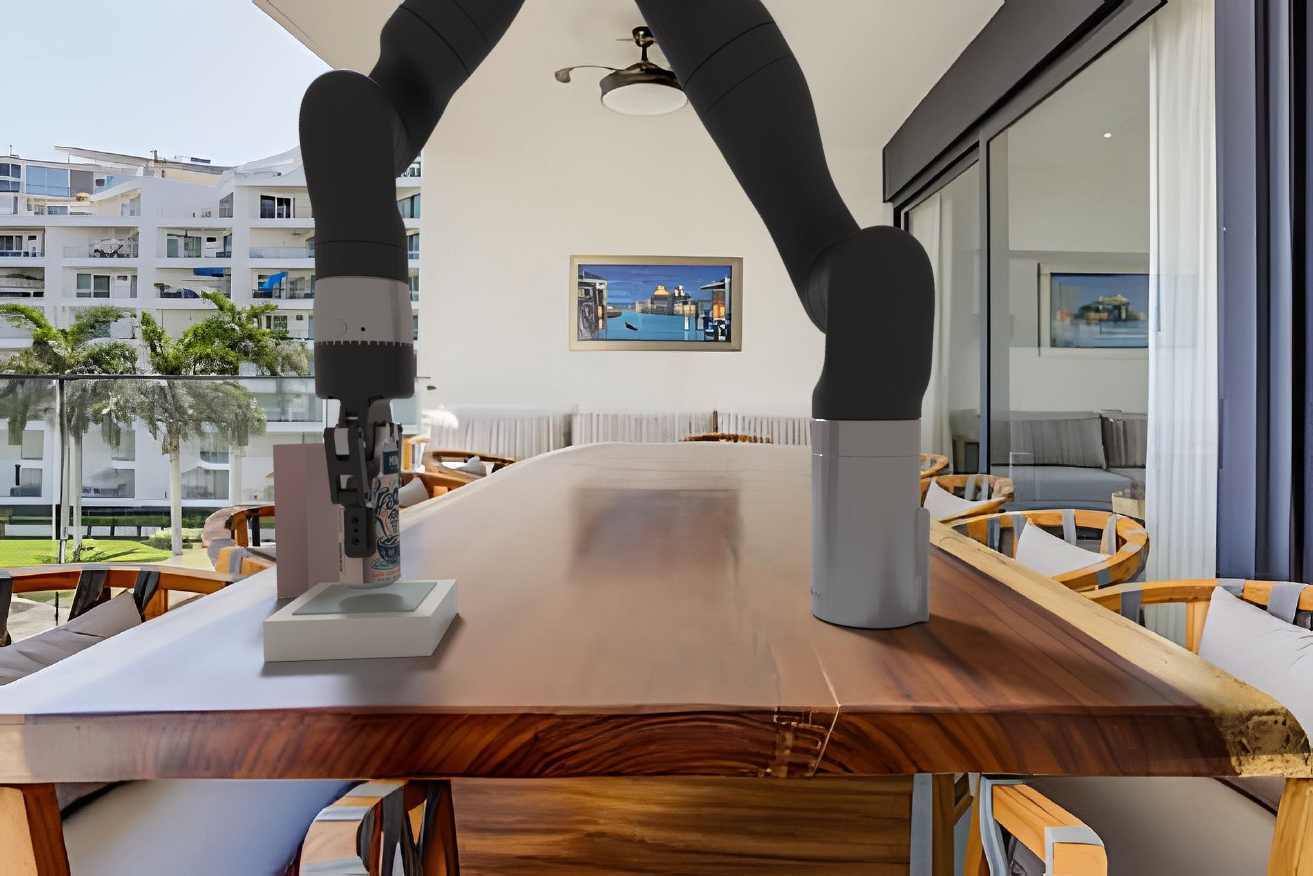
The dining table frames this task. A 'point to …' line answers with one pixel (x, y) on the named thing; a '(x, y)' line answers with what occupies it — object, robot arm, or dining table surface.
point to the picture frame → (362, 621)
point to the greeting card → (304, 519)
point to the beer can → (377, 533)
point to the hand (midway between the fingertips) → (370, 549)
